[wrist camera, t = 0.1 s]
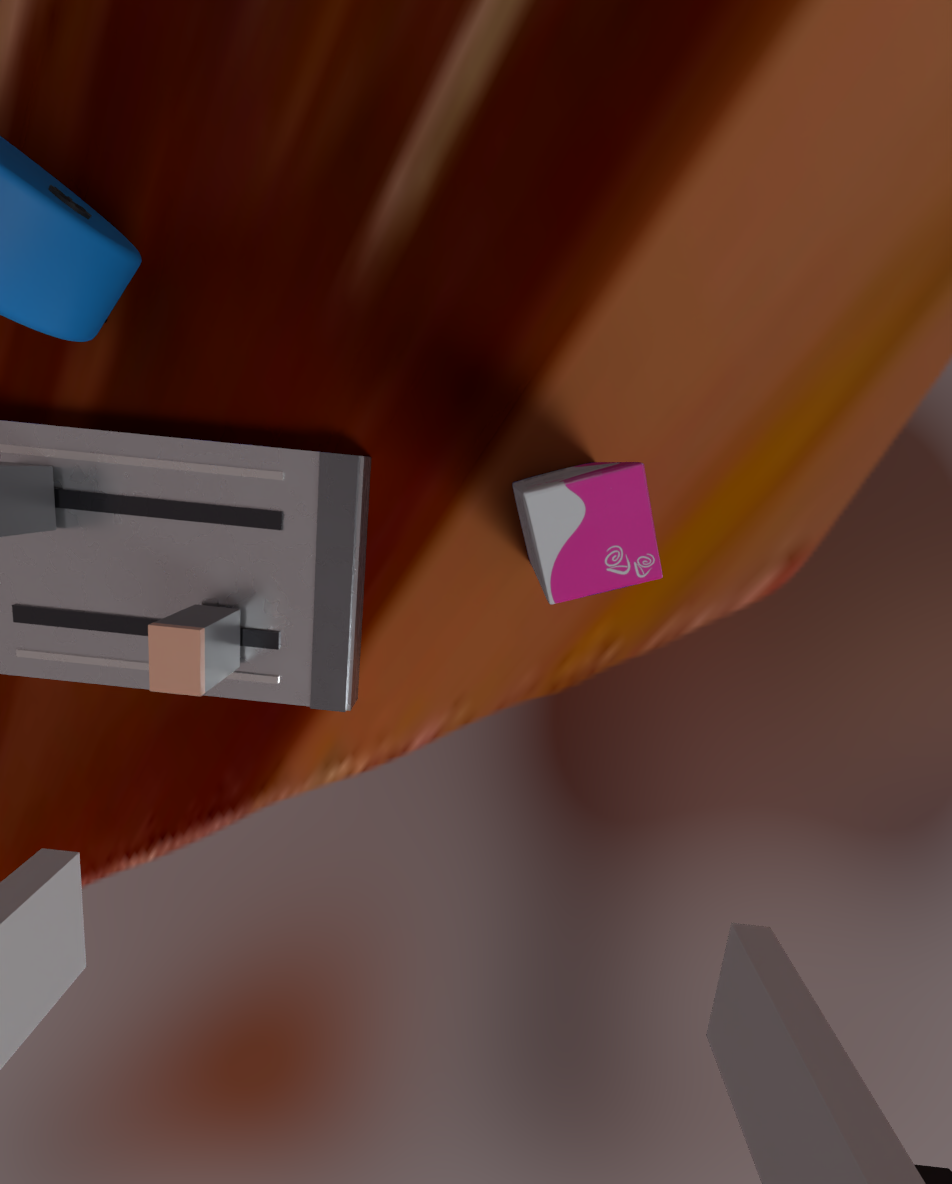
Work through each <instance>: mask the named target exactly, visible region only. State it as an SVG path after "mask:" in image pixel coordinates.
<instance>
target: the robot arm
mask: <svg viewBox="0 0 952 1184" xmlns="http://www.w3.org/2000/svg"><path fill="white" fill-rule="evenodd" d="M85 967H86V955H85V939H84V922H83V908H82V889H81V873H80V856H79V852H70V851H61V850H51V849H41V850H39V851H38V852H37V853H36V854H35V855H33V856H32V857H31V858H30V859H28V860H27V861H26V862H25V863H24V864H22V865H21V866H20V867H19V868H18V869H16V870H15V871H14V872H13V873H12V874H10V875H9V876H8V877H7V878H5V879H4V880H3V881H2V882H1V883H0V1070H1V1068H2V1067H3V1066H4V1065H5V1064H6V1062H7V1061H8V1060H9V1059H10V1058H11V1056H12V1055H13V1054H14V1053H15V1052H16V1050H17V1049H18V1048H19V1047H20V1046H21V1044H22V1043H23V1042H24V1041H25V1039H26V1038H27V1037H28V1036H29V1035H30V1034H31V1032H32V1031H33V1030H34V1029H35V1027H36V1026H37V1025H38V1024H39V1023H40V1022H41V1020H42V1019H43V1018H44V1017H45V1015H46V1014H47V1013H48V1012H49V1010H50V1009H51V1008H52V1007H53V1006H54V1005H55V1003H56V1002H57V1001H58V1000H59V999H60V997H61V996H62V995H63V994H64V993H65V991H66V990H67V989H68V988H69V987H70V985H71V984H72V983H73V982H74V981H75V979H76V978H77V977H78V976H79V975H80V973H81V972H82V971H83V970H84V968H85ZM706 1035H707V1038H708V1041H709V1044H710V1047H711V1049H712V1052H713V1055H714V1057H715V1059H716V1063H717V1065H718V1068H719V1071H720V1073H721V1076H722V1078H723V1081H724V1084H725V1087H726V1089H727V1092H728V1095H729V1097H730V1100H731V1102H732V1105H733V1108H734V1111H735V1113H736V1116H737V1119H738V1121H739V1124H740V1126H741V1129H742V1132H743V1135H744V1137H745V1139H746V1143H747V1145H748V1148H749V1150H750V1153H751V1156H752V1158H753V1161H754V1164H755V1166H756V1169H757V1172H758V1174H759V1177H760V1180H761V1182H762V1184H952V1171H950V1169H948V1168H939V1167H931V1166H922V1165H914V1164H913V1162H912V1160H911V1159H910V1157H909V1156H908V1154H907V1152H906V1151H905V1149H904V1148H903V1146H902V1144H901V1142H900V1141H899V1139H898V1137H897V1136H896V1134H895V1133H894V1131H893V1129H892V1127H891V1126H890V1124H889V1123H888V1121H887V1119H886V1118H885V1116H884V1114H883V1113H882V1111H881V1109H880V1108H879V1106H878V1104H877V1103H876V1101H875V1099H874V1098H873V1096H872V1094H871V1093H870V1091H869V1090H868V1088H867V1086H866V1085H865V1083H864V1081H863V1080H862V1078H861V1076H860V1075H859V1073H858V1072H857V1070H856V1068H855V1066H854V1065H853V1063H852V1061H851V1060H850V1058H849V1057H848V1055H847V1053H846V1052H845V1050H844V1048H843V1047H842V1045H841V1043H840V1042H839V1040H838V1038H837V1037H836V1035H835V1033H834V1032H833V1030H832V1028H831V1027H830V1025H829V1024H828V1022H827V1020H826V1019H825V1017H824V1015H823V1014H822V1012H821V1010H820V1009H819V1007H818V1005H817V1004H816V1002H815V1000H814V999H813V997H812V995H811V994H810V992H809V990H808V989H807V987H806V986H805V984H804V982H803V981H802V979H801V977H800V976H799V974H798V972H797V971H796V969H795V967H794V966H793V964H792V962H791V961H790V959H789V957H788V956H787V954H786V953H785V951H784V949H783V948H782V946H781V944H780V943H779V941H778V939H777V938H776V936H775V934H774V933H773V931H772V930H771V928H770V927H764V926H755V925H745V924H737V923H731V927H730V931H729V936H728V940H727V945H726V949H725V954H724V958H723V963H722V967H721V972H720V977H719V981H718V985H717V990H716V994H715V998H714V1003H713V1007H712V1012H711V1016H710V1021H709V1025H708V1030H707V1034H706Z"/></svg>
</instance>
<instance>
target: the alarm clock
mask: <svg viewBox="0 0 952 1184" xmlns="http://www.w3.org/2000/svg"><path fill="white" fill-rule="evenodd" d="M140 264H141V256H140V254H139V252H138V250H137V249H136V248H135V247H134V245H133V244H132V243H131V242H130V241H129V240H128V239H127V238H126V237H125V236H124V235H122V234H121V233H120V232H119V231H118V230H117V229H116V228H115V227H114V226H113V225H111V224H110V223H109V222H108V221H107V220H106V219H104V218H103V217H102V216H101V215H100V214H99V213H97V212H96V211H95V210H94V209H93V208H91V207H90V206H89V205H88V204H87V203H85V202H84V201H83V200H82V199H81V198H79V197H78V196H77V195H76V194H74V193H73V192H72V191H71V190H69V189H68V188H67V187H66V186H64V185H63V184H62V183H61V182H59V181H58V180H57V179H56V178H54V177H53V176H52V175H50V174H49V173H48V172H47V171H45V170H44V169H43V168H42V167H40V166H39V165H38V164H36V163H35V162H34V161H33V160H31V159H30V158H29V157H27V156H26V155H25V154H23V153H22V152H21V151H20V150H18V149H17V148H16V147H14V146H13V145H12V144H10V143H9V142H8V141H6V140H5V139H4V138H2V137H1V136H0V315H2V316H4V317H6V318H8V319H11V320H13V321H15V322H17V323H20V324H22V325H24V326H27V327H29V328H31V329H34V330H36V331H39V332H42V333H44V334H47V335H50V336H53V337H57V338H60V339H64V340H69V341H76V342H85V341H89V340H92V339H93V338H94V337H95V336H96V335H97V334H98V332H99V330H100V329H101V327H102V326H103V324H104V322H105V323H106V322H107V317H108V316H109V314H110V313H111V311H112V309H113V308H114V306H115V305H116V303H117V301H118V300H119V298H120V297H121V295H122V293H123V292H124V290H125V288H126V287H127V285H128V284H129V282H130V280H131V279H132V277H133V276H134V274H135V272H136V271H137V269H138V268H139V266H140Z"/></svg>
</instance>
